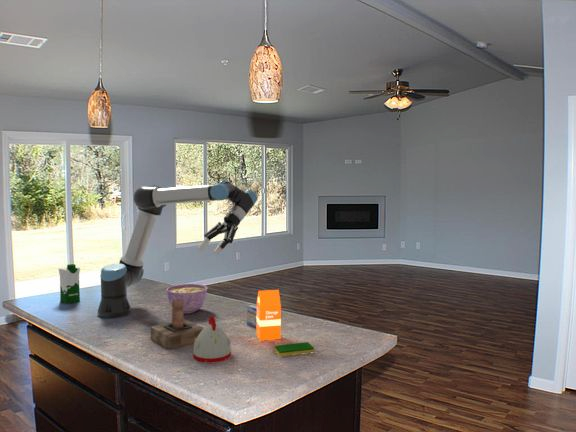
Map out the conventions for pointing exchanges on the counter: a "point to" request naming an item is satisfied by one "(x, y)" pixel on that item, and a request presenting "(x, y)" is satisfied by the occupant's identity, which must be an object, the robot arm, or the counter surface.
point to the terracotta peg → (177, 314)
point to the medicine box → (252, 315)
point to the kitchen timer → (211, 344)
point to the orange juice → (268, 315)
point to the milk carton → (69, 284)
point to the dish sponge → (293, 349)
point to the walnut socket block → (175, 334)
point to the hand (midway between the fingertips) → (207, 251)
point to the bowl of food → (188, 296)
